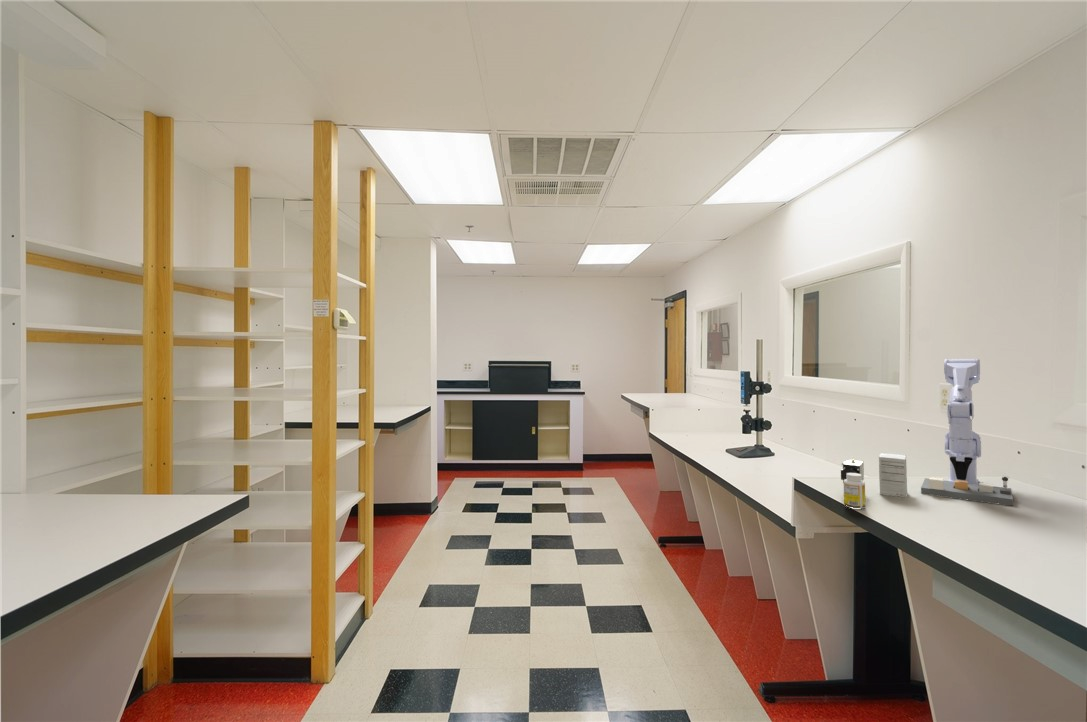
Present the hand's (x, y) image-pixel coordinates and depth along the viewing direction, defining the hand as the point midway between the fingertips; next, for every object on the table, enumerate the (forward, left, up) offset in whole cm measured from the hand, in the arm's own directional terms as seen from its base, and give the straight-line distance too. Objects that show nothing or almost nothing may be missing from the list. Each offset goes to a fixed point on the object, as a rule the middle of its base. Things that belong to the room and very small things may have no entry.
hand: (961, 479), depth 161 cm
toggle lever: (0, +10, -1) cm, 11 cm away
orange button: (0, 0, -3) cm, 3 cm away
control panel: (-1, +1, -5) cm, 5 cm away
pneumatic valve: (+22, -27, -5) cm, 35 cm away
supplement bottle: (+36, -24, -5) cm, 44 cm away
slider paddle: (+6, -6, -3) cm, 9 cm away
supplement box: (+12, -17, -5) cm, 21 cm away
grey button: (0, +6, -3) cm, 7 cm away
